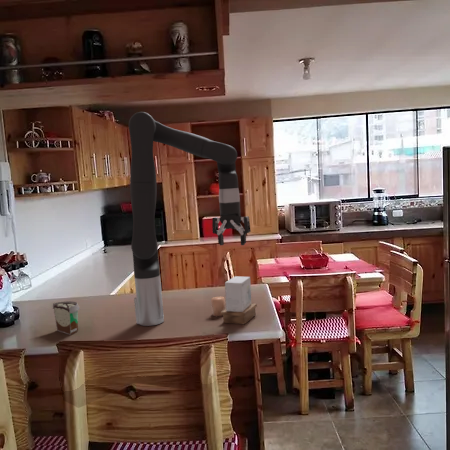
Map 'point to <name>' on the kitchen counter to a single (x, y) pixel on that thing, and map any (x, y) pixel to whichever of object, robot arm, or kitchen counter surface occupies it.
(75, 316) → the food container
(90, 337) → the kitchen counter surface
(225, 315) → the stand
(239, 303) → the skincare box
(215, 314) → the peach rounded knob
